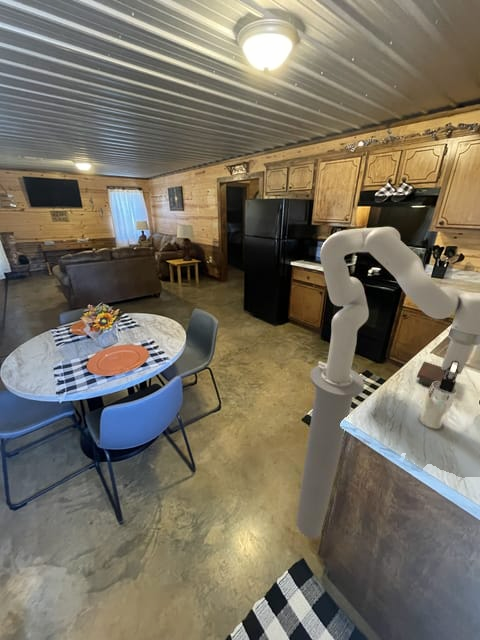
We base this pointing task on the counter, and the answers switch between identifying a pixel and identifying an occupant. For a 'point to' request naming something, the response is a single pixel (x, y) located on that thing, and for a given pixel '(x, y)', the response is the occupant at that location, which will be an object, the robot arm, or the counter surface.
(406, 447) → the counter surface
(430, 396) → the beer glass
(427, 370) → the lidded box
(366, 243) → the robot arm
